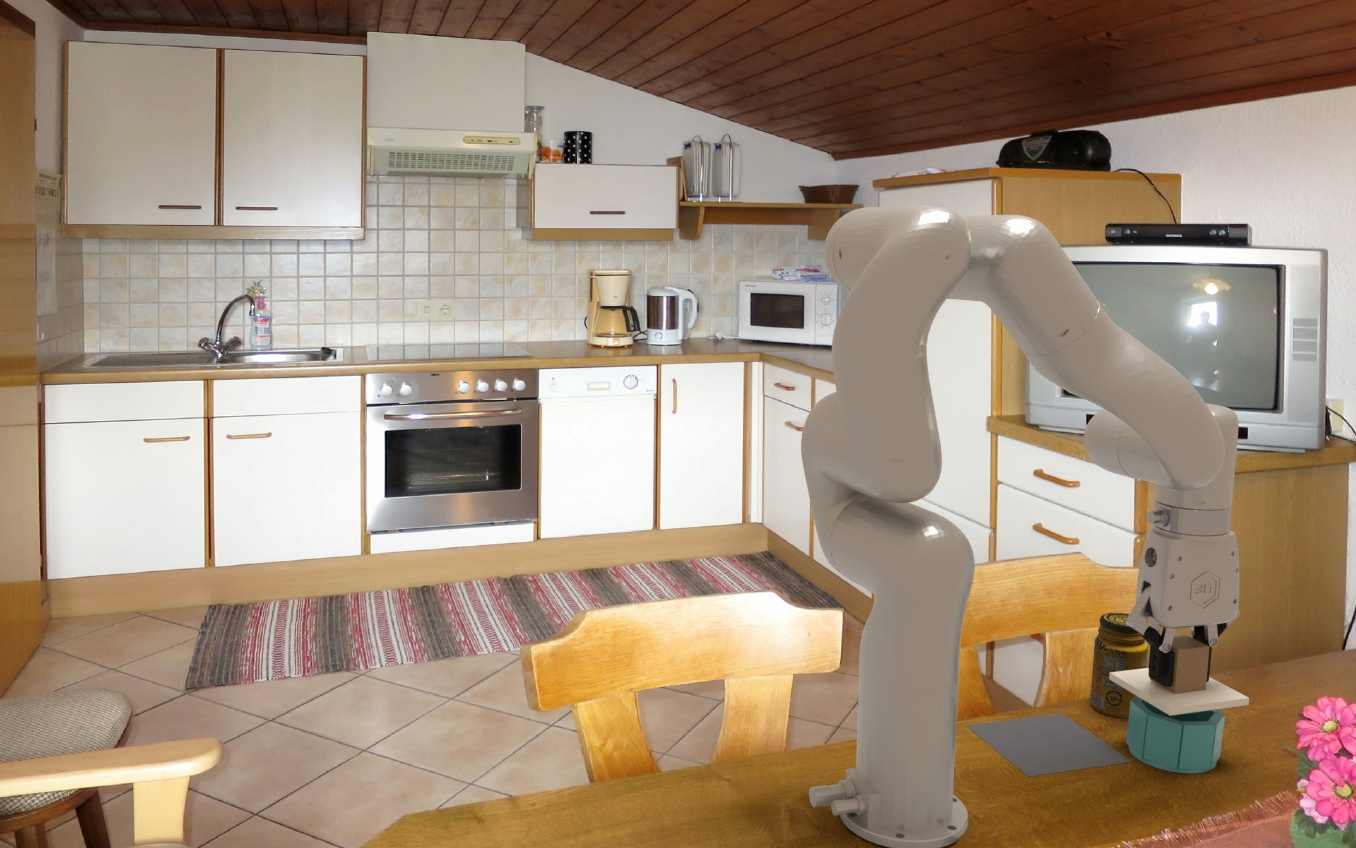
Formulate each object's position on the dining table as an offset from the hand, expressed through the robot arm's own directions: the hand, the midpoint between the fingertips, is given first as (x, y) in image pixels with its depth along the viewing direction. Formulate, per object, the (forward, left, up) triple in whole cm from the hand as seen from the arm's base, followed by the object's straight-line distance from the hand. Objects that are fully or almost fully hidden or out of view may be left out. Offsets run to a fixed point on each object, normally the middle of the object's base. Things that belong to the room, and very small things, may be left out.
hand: (1178, 678), depth 122 cm
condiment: (+1, +12, -10) cm, 15 cm away
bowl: (0, 0, -9) cm, 9 cm away
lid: (0, 0, -2) cm, 2 cm away
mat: (-12, +6, -9) cm, 16 cm away
